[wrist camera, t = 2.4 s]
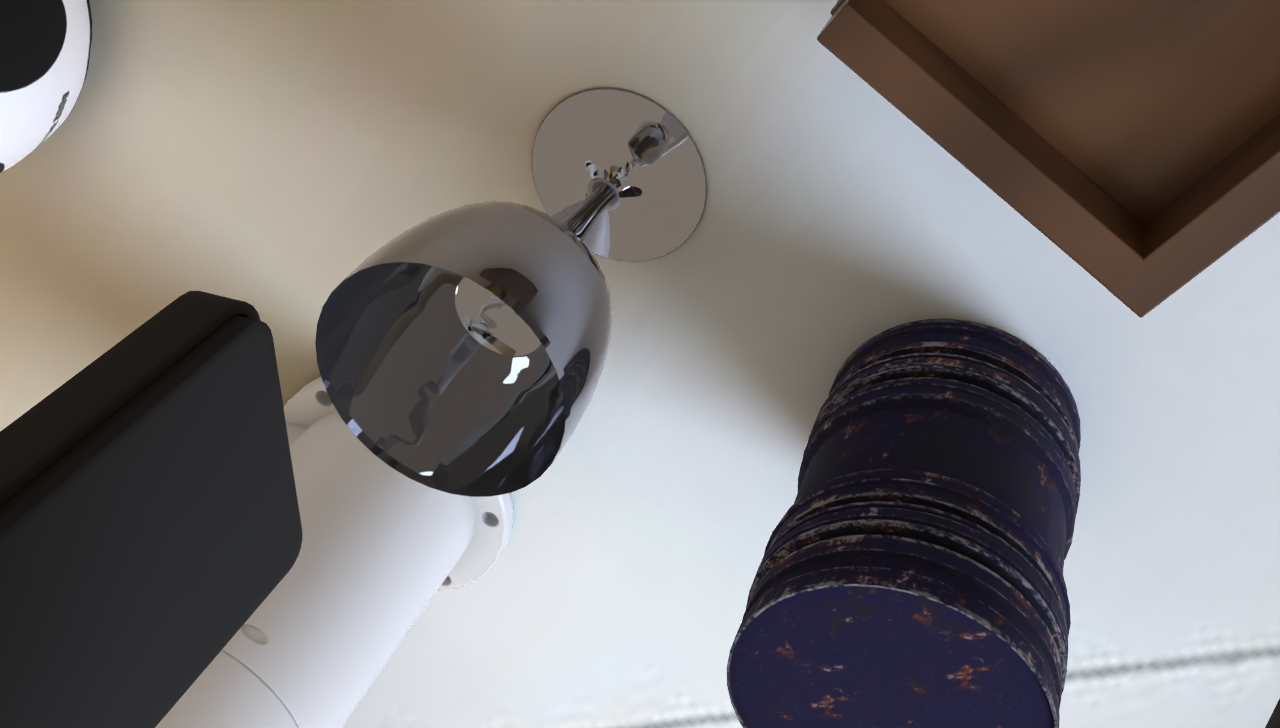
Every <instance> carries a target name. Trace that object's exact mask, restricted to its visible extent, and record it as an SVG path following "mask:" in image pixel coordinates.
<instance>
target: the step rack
mask: <svg viewBox="0 0 1280 728" xmlns="http://www.w3.org/2000/svg"><path fill="white" fill-rule="evenodd" d="M831 15H832V17H831V18H830V20H829V21H828V23H827V24H826V26H825V27H824V28H823V30H822V31H821V33H820V34H819V36H818V38H817V40H818V41H819V42H820V43H821V44H822V45H823V46H825V47H826V48H827V49H828V50H829V51H830V52H832V53H833V54H834V55H835V56H836V57H837V58H839V59H840V60H841V61H842V62H843V63H844V64H846V65H847V66H848V67H849V68H850V69H851V70H853V71H854V72H855V73H856V74H857V75H858V76H860V77H861V78H862V79H863V80H864V81H865V82H867V83H868V84H869V85H870V86H871V87H872V88H874V89H875V90H876V91H877V92H878V93H879V94H881V95H882V96H883V97H884V98H885V99H886V100H888V101H889V102H890V103H891V104H892V105H893V106H895V107H896V108H897V109H898V110H899V111H900V112H902V113H903V114H904V115H905V116H906V117H907V118H909V119H910V120H911V121H912V122H913V123H914V124H916V125H917V126H918V127H919V128H920V129H921V130H923V131H924V132H925V133H926V134H927V135H928V136H930V137H931V138H932V139H933V140H934V141H935V142H937V143H938V144H939V145H940V146H941V147H942V148H944V149H945V150H946V151H947V152H948V153H949V154H951V155H952V156H953V157H954V158H955V159H956V160H958V161H959V162H960V163H961V164H962V165H963V166H965V167H966V168H967V169H968V170H969V171H971V172H972V173H973V174H974V175H975V176H976V177H978V178H979V179H980V180H981V181H982V182H983V183H985V184H986V185H987V186H988V187H989V188H990V189H992V190H993V191H994V192H995V193H996V194H997V195H999V196H1000V197H1001V198H1002V199H1003V200H1004V201H1006V202H1007V203H1008V204H1009V205H1010V206H1011V207H1013V208H1014V209H1015V210H1016V211H1017V212H1018V213H1020V214H1021V215H1022V216H1023V217H1024V218H1025V219H1027V220H1028V221H1029V222H1030V223H1031V224H1032V225H1034V226H1035V227H1036V228H1037V229H1038V230H1039V231H1041V232H1042V233H1043V234H1044V235H1045V236H1046V237H1048V238H1049V239H1050V240H1051V241H1052V242H1053V243H1055V244H1056V245H1057V246H1058V247H1059V248H1060V249H1062V250H1063V251H1064V252H1065V253H1066V254H1067V255H1069V256H1070V257H1071V258H1072V259H1073V260H1074V261H1076V262H1077V263H1078V264H1079V265H1080V266H1081V267H1083V268H1084V269H1085V270H1086V271H1087V272H1088V273H1090V274H1091V275H1092V276H1093V277H1094V278H1095V279H1097V280H1098V281H1099V282H1100V283H1101V284H1102V285H1104V286H1105V287H1106V288H1107V289H1108V290H1109V291H1110V292H1111V293H1112V294H1113V295H1115V296H1116V297H1117V298H1118V299H1119V300H1120V301H1122V302H1123V303H1124V304H1125V305H1126V306H1127V307H1129V308H1130V309H1131V310H1132V311H1133V312H1134V313H1136V314H1137V315H1138V316H1139V317H1143V316H1144V315H1146V314H1147V313H1148V312H1149V311H1151V310H1152V309H1153V308H1155V307H1156V306H1157V305H1159V304H1160V303H1161V302H1163V301H1164V300H1165V299H1166V298H1168V297H1169V296H1170V295H1172V294H1173V293H1174V292H1176V291H1177V290H1178V289H1180V288H1181V287H1182V286H1183V285H1185V284H1186V283H1187V282H1189V281H1190V280H1191V279H1193V278H1194V277H1195V276H1197V275H1198V274H1199V273H1200V272H1202V271H1203V270H1204V269H1206V268H1207V267H1208V266H1210V265H1211V264H1212V263H1214V262H1215V261H1216V260H1218V259H1219V258H1220V257H1221V256H1223V255H1224V254H1225V253H1227V252H1228V251H1229V250H1231V249H1232V248H1233V247H1235V246H1236V245H1237V244H1238V243H1240V242H1241V241H1242V240H1244V239H1245V238H1246V237H1248V236H1249V235H1250V234H1252V233H1253V232H1254V231H1255V230H1257V229H1258V228H1259V227H1261V226H1262V225H1263V224H1265V223H1266V222H1267V221H1269V220H1270V219H1271V218H1272V217H1274V216H1275V215H1276V214H1278V213H1279V212H1280V0H838V2H837V3H836V5H835V6H834V8H833V9H832V10H831Z"/></svg>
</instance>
